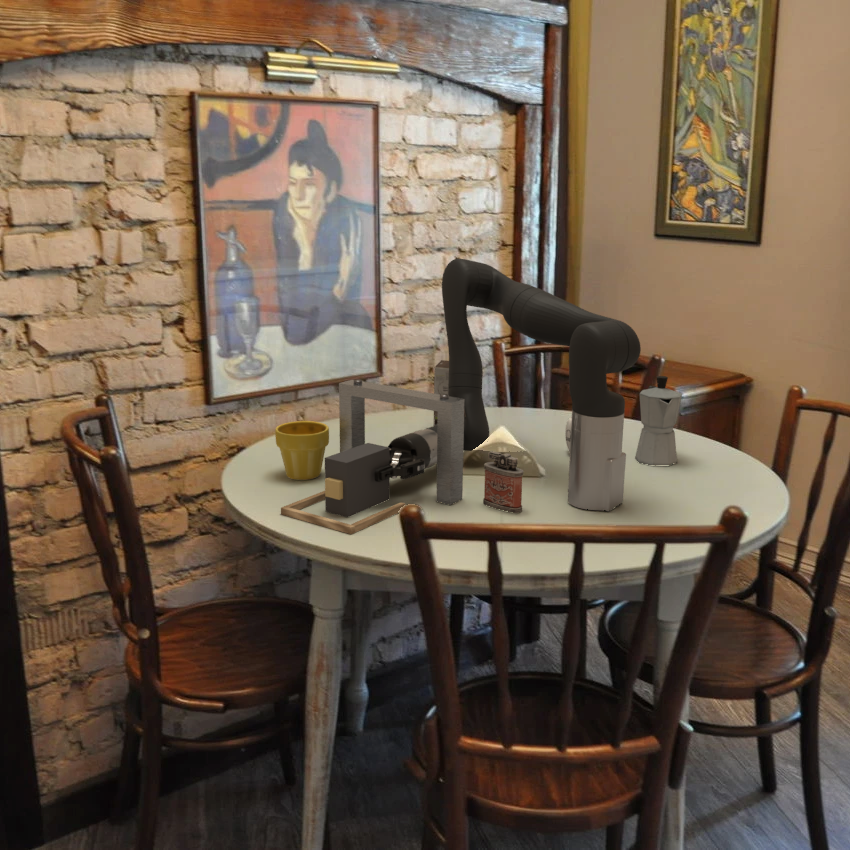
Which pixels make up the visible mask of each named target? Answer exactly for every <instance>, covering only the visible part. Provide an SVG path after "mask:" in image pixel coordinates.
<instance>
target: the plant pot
mask: <svg viewBox="0 0 850 850" xmlns="http://www.w3.org/2000/svg"><path fill="white" fill-rule="evenodd" d="M274 432H275V433H274V434H275V435H274V436H275V445H276V447H278V448H279V451H280V455H281V457H282V462H283V467H284V470H285V474H286V477H287V478H289V479H291V480H294V481H295V480H297V481H305V480H306V481H307V480H308V481H309V480H313V479H316V478H318V477H319V476H321V473H322V467H323V462H324V459H325V451H326V447H327V446H328V445H329V443H330V428H329V426H328V425H327V424H325V423H323V422H320V421H312V420H298V421H289V422H285V423H281V424H280V425H277V426H276V427H275V430H274Z"/></svg>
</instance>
